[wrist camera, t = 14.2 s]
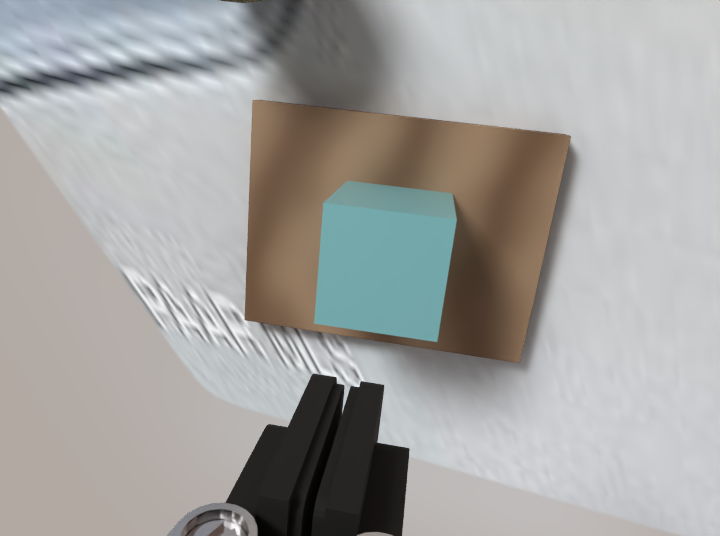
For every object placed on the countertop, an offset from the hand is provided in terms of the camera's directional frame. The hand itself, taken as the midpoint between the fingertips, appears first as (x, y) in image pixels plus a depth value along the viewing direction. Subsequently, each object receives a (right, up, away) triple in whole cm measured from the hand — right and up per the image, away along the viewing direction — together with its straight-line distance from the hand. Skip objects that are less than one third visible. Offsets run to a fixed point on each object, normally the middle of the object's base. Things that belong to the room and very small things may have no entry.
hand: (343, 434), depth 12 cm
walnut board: (+2, +6, +21) cm, 22 cm away
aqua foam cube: (+2, +6, +20) cm, 21 cm away
